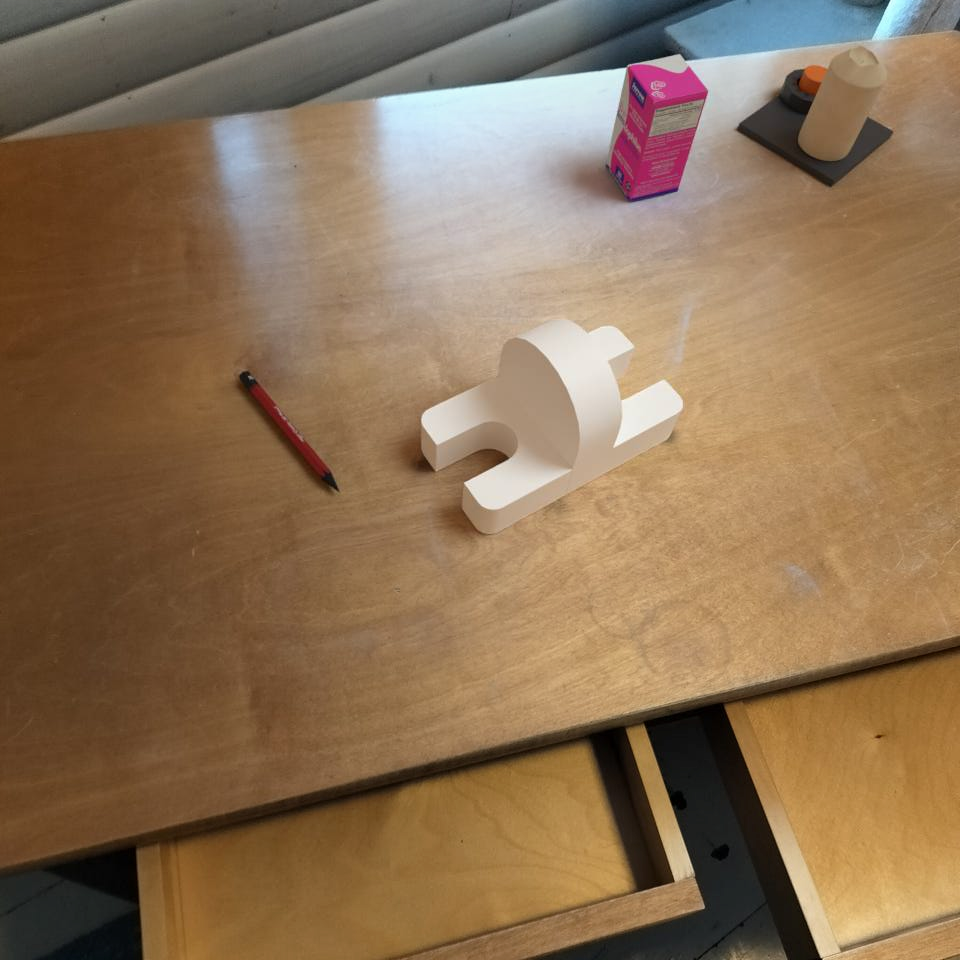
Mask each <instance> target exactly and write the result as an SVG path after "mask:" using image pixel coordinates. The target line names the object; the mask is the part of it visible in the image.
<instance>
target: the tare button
mask: <svg viewBox="0 0 960 960" xmlns="http://www.w3.org/2000/svg"><path fill="white" fill-rule="evenodd" d="M804 69H805V70H804V72H803V75H802V77H801V79H800V82H799V88H800V90H802V91H804V92H805V93H807V94H810V95H815V96H816V94H817V92H818V90H819V87H820V85H821V83H822V81H823V78H824V76H825V74H826V72H827V69H828V68H826V67H824V66H822V65H817V64H816V65H815V64H813V65H812V64H811V65H808V66H806V67H805V68H804Z"/></svg>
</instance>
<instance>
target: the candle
mask: <svg viewBox="0 0 960 960" xmlns="http://www.w3.org/2000/svg"><path fill="white" fill-rule="evenodd" d="M826 69H827V72H826V74H825V76H824V78H823V81H822V83H821V85H820V87H819V90H818V92H817V94H816V96H815V99H814V101H813V103H812V105H811V108H810V110H809V112H808V114H807V117H806V119H805V121H804V124H803V126H802V128H801V131H800V133H799V136H798V143H799V145H800V147H801V148H802V150H803V151H804V152H806V153H807V154H808V155H810V156H812V157H814V158H817V159H820V160H824V161H837V160H841V159H843V158H844V157H846V156H847V154H848V153H849V152H850V150H851V148H852V146H853V144H854V142H855V140H856V138H857V136H858V134H859V132H860V130H861V129H862V127H863V125H864V123H865V121H866V119H867V117H869V115H870V113H871V111H872V109H873V107H874V106H875V103H876V101H877V99H878V97H879V95H880V93H881V92H882V89H883V88H884V85H885V84H886V81H887V79H888V72H887V69H886V67H885V65H884V63H883V62H882V61H881V59H879V57H877V56H876V54H875V53H874V52H873V51H872V50H869V49H867V48H866V47H865V46H863V45H859V46H856V47H855V46H854V47H853V48H851V49H848V50H846V51H843V52H841V53H838V54H836V55H835V56H834V57H832V58H831V60H830V63H829V65H828V67H827V68H826Z"/></svg>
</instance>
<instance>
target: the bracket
mask: <svg viewBox="0 0 960 960" xmlns="http://www.w3.org/2000/svg"><path fill="white" fill-rule="evenodd" d="M635 350H636V346H635V345H634V344H633V343H632V341H630V340H629V338H627V336H626V335H625V334H624V333H623V332H622V331H621V330H620V329H618V328H617V327H615V326H612V325H603V326H598V327H597V328H595V329H593V330H591V331H589V332H587V331H586V330H585V329H584V328H582V327H581V325H579V324H577V323H576V322H574V321H572V320H570V319H569V318H563V317H556V318H553V319H549V320H548V321H545V322H543V323H541V324H539V325H537V326H534V327H533V328H530V329H528V330H526V331H524V332H521V333H519V334H517V335H515V336H513V337H511V338H508V339H507V341H506V342H505V343H504V344H503V345H502V349H501V353H500V358H499V363H498V372H497V373H498V374H497V375H496V376H494V377H493V378H490V379H488V380H486V381H484V382H482V383H480V384H478V385H475V386H474V387H471V388H469V389H467V390H465V391H463V392H461V393H458V394H457V395H454V396H453V397H451V398H449V399H446V400H445V401H442V402H440V403H438V404H436V405H434V406H432V407H430V408H428V409H427V410H425V411H424V412H423V413H422V416H421V419H420V421H421V423H420V449H421V450H420V451H421V453H422V455H423V456H424V458H425V459H426V460H427V462H428V463H429V465H430V466H431V467H432V469H433V470H434V472H435V473H437V472H439V471H441V470H442V469H445V468H447V467H449V466H450V465H453V464H454V463H456V462H459V461H460V460H463V459H464V458H467V457H469V456H470V455H472V454H474V453H477V452H479V451H481V450H494V451H497V452H500V453H502V454H504V455H505V456H506V457H507V458H508V459H506V460H505V461H503V462H501V463H499V464H497V465H496V466H493V467H492V468H489V469H488V470H486V471H484V472H482V473H480V474H478V475H476V476H475V477H472V478H471V479H468V480H467V481H465V482H463V489H462V490H463V491H462V498H461V510H463V512H464V514H465V516H466V517H467V518H468V519H469V522H470V523H471V524H472V525H473V526H474V528H475V529H476V530H477V531H478V532H480V533H481V534H484V535H494V534H497V533H500V532H501V531H504V530H505V529H506V528H509V527H510V526H513V525H514V524H516V523H518V522H520V521H522V520H523V519H525V518H527V517H529V516H530V515H532V514H534V513H536V512H538V511H539V510H541V509H543V508H545V507H547V506H548V505H551V504H552V503H554V502H556V501H558V500H560V499H562V498H563V497H565V496H567V495H569V494H571V493H572V492H574V491H576V490H578V489H579V488H581V487H584V486H585V485H587V484H589V483H590V482H593V481H595V480H596V479H598V478H600V477H601V476H604V475H605V474H608V473H609V472H611V471H613V470H614V469H616V468H618V467H620V466H622V465H623V464H625V463H627V462H629V461H631V460H633V459H634V458H636V457H638V456H641V454H644V453H646V452H647V451H650V450H651V449H653V448H654V447H656V446H658V445H660V444H662V443H663V442H665V441H668V439H669V438H670V436H671V434H672V433H673V430H674V429H675V426H676V424H677V421H678V419H679V416H680V414H681V412H682V410H683V407H684V401H683V398H682V397H681V395H680V394H679V393H678V392H677V391H676V390H675V389H674V388H673V387H672V386H671V384H670V383H668V381H667V380H666V379H665V378H664V379H662V380H660V381H658V382H656V383H653V384H652V385H650V386H648V387H646V388H644V389H642V390H641V391H639V392H636V393H635V394H632V395H630V396H629V397H627V398H624V399H622V397H621V392H620V389H619V385H618V381H619V380H621V379H623V378H624V377H626V376H627V373H628V371H629V367H630V364H631V361H632V358H633V355H634V352H635Z"/></svg>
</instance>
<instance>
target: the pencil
mask: <svg viewBox="0 0 960 960" xmlns="http://www.w3.org/2000/svg"><path fill="white" fill-rule="evenodd" d="M238 377H239V380H240V382H241V383H242V384H243V385H244V387H245V388H246V389H247V390H248V391H249V393H250V394H251V395H252V396H253V398H254V399H255V401H257V402H258V403H259V405H260V406H261V408H263V410H264V411H265V412H266V414H267V415H268V416H269V418H271V420H272V421H273V422H274V424H275V425H276V426H277V427H278V428H279V430H280V431H281V432H282V433H283V435H284V436H285V437H286V439H288V442H290V443H291V444H292V446H293V447H294V448H295V449H296V450H297V452H298V453H299V454H300V455H301V457H302V458H303V460H305V462H306V463H307V464H308V465H309V467H310V468H311V469H312V471H313V472H314V473H315V474H316V475H317V477H318V478H319V480H321V481H322V482H324V483H325V484H327V485H328V486H330V487H331V488H332V489H333V490H335V491H337V492H338V493H341V491H340V489H339V487H338V485H337V482H336V480H335V478H334V475H333V473H332V471H331V469H329V467H328V466H327V465H326V463H325V462H324V461H323V460H322V458H320V456H319V455H318V454H317V453H316V451H315V450H314V449H313V447H311V445H310V444H309V443H308V442H307V441H306V439H305V437H303V436H302V434H301V433H300V432H299V431H298V429H297V428H296V427H295V425H293V423H292V422H291V421H290V420H289V419H288V417H287V416H286V415H285V414H284V412H283V411H282V410H281V409H280V408H279V406H278V405H277V404H276V403H275V401H274V400H273V399H272V398H271V396H269V394H268V393H267V392H266V390H265V389H264V388H263V387H262V385H261V384H260V383H259V381H257V379H255V377H254V376H253V375H252V374H251V372H250V371H249V370H244V371H242V372H241V373H240V374H239V375H238Z"/></svg>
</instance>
